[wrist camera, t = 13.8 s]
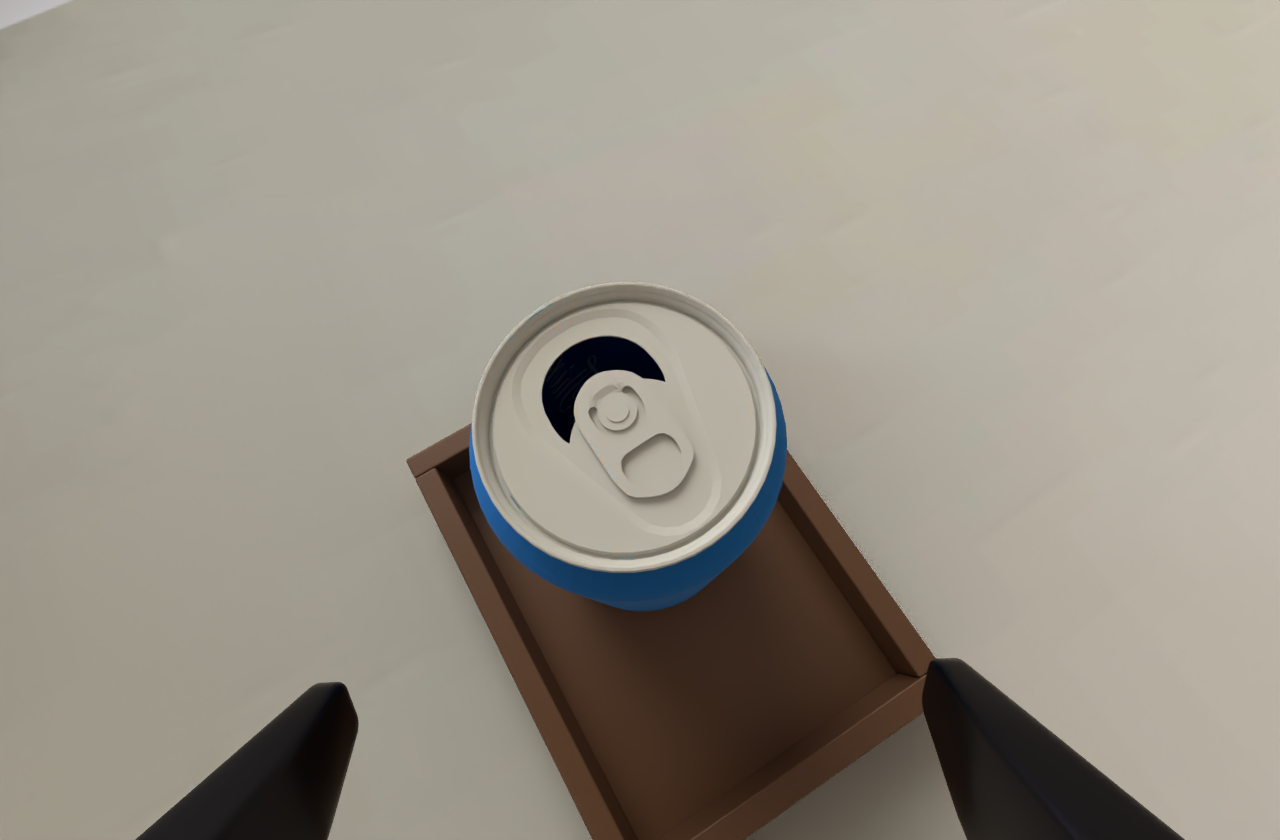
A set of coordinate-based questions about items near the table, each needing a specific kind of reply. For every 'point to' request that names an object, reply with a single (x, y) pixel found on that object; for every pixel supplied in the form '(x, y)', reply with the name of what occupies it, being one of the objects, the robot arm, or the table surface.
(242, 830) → the robot arm
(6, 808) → the table surface
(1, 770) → the table surface
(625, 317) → the beverage can
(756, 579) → the tray
